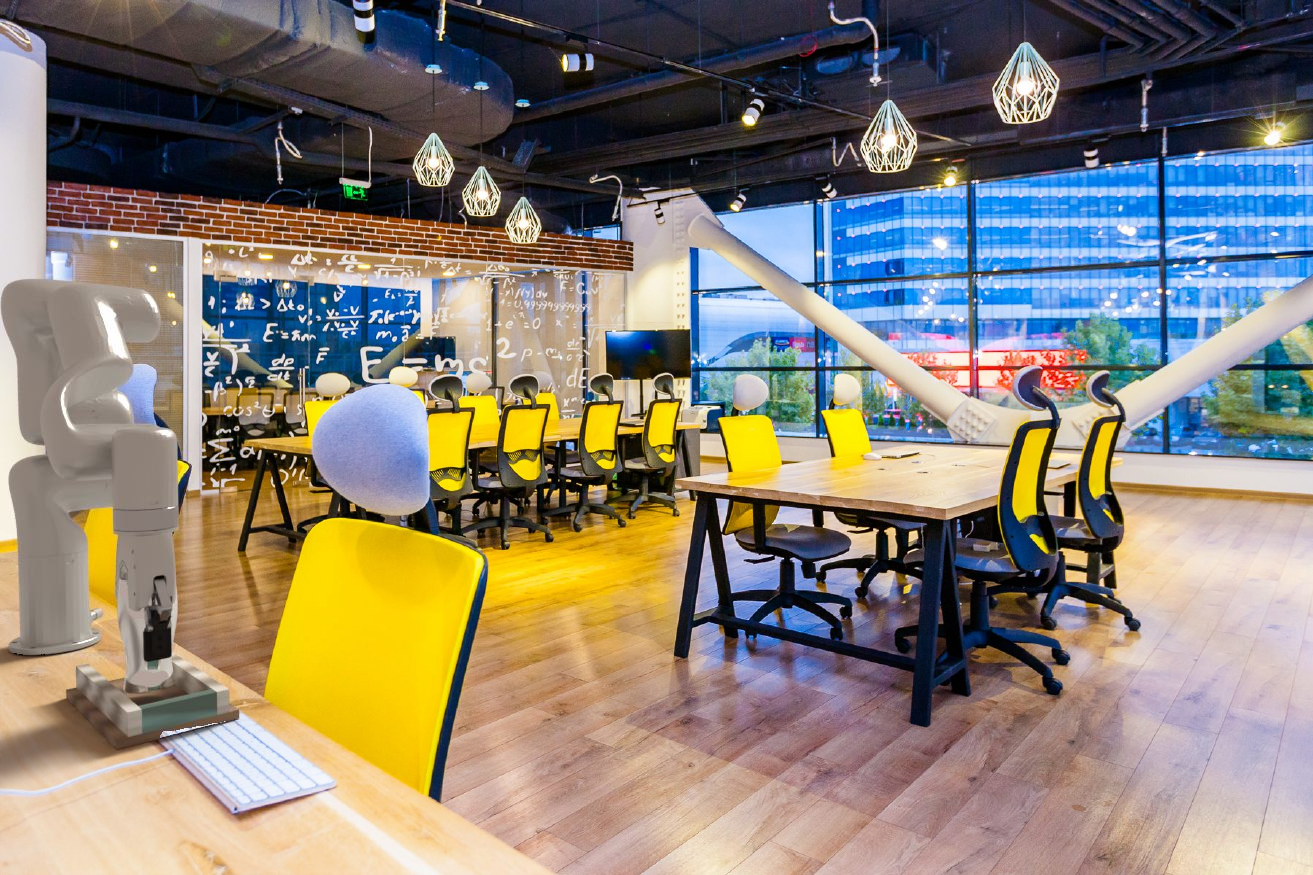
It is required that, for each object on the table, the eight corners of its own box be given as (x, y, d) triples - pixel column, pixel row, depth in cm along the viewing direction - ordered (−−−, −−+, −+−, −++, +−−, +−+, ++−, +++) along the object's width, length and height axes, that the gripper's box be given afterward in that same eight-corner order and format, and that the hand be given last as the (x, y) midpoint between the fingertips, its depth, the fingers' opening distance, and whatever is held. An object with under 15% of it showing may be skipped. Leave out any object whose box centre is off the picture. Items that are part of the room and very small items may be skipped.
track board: (66, 698, 120) (65, 668, 119) (176, 674, 130) (176, 647, 130) (117, 749, 103) (116, 715, 103) (239, 718, 113) (238, 686, 113)
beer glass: (190, 682, 118) (188, 573, 117) (141, 698, 112) (139, 583, 111) (156, 674, 121) (154, 568, 120) (107, 690, 115) (104, 577, 114)
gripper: (95, 515, 118) (98, 645, 119) (134, 531, 106) (137, 675, 107) (156, 510, 124) (159, 634, 125) (200, 525, 112) (202, 661, 113)
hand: (149, 652), depth 116 cm, fingers closed on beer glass, 6 cm apart
